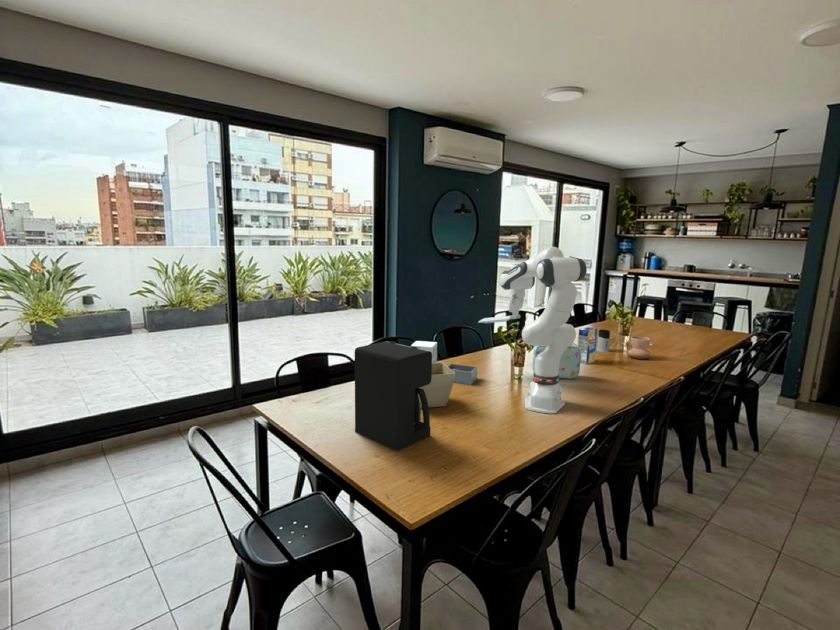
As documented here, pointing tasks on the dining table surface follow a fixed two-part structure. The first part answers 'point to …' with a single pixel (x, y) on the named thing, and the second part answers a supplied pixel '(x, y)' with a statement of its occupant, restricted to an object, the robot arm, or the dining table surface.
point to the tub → (464, 373)
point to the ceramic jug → (639, 347)
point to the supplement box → (427, 348)
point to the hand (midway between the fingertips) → (515, 318)
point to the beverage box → (587, 344)
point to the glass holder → (604, 341)
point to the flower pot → (439, 385)
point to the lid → (497, 319)
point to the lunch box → (564, 361)
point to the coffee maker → (392, 393)
